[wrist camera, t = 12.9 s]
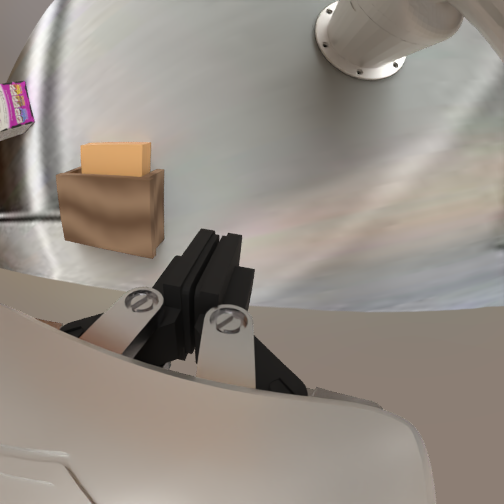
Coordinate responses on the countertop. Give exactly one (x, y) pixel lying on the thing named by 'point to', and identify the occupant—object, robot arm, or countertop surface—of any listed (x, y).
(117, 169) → the orange cover
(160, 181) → the walnut shelf
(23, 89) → the candy bar box
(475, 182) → the countertop surface
